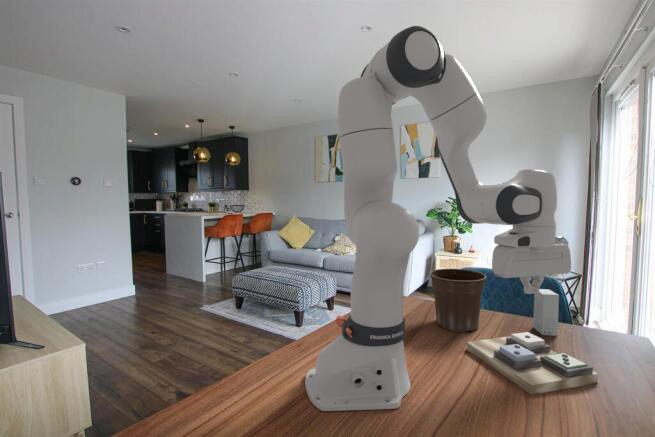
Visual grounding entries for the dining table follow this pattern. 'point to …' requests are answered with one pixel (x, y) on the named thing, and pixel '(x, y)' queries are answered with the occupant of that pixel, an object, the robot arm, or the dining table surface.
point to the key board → (531, 367)
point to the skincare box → (546, 312)
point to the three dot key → (566, 361)
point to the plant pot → (457, 298)
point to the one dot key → (528, 339)
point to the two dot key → (517, 353)
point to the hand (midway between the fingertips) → (531, 293)
